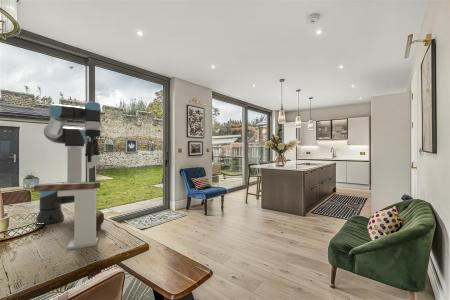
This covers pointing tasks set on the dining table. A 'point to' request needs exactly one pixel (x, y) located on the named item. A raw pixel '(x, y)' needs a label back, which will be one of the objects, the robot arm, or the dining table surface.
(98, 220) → the shell
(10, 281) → the dining table surface
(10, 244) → the dining table surface
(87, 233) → the white upright panel
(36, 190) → the lever
